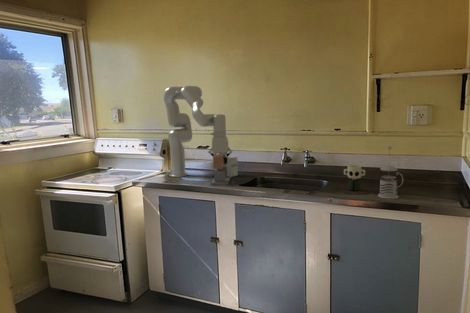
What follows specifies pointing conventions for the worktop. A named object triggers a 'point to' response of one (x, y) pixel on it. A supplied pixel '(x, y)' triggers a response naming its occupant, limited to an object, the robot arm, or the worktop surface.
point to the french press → (386, 180)
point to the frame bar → (219, 161)
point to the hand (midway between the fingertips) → (220, 163)
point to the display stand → (221, 177)
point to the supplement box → (232, 166)
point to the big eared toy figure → (354, 176)
